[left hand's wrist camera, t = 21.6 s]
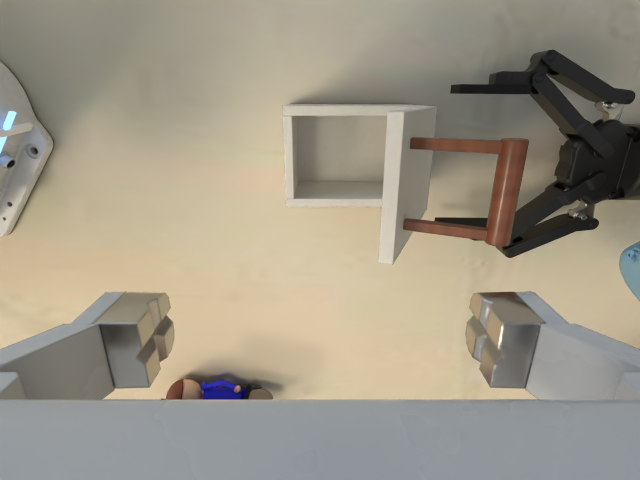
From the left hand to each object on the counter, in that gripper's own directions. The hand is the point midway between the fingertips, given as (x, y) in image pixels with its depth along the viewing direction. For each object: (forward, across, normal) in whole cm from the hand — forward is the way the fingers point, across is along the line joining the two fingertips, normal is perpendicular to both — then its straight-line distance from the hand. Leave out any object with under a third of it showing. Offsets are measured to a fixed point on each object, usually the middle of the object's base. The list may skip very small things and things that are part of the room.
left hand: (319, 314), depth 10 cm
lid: (+21, -7, 0) cm, 22 cm away
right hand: (+30, -13, +1) cm, 33 cm away
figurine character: (+37, +14, +36) cm, 53 cm away
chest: (+37, -3, 0) cm, 37 cm away
